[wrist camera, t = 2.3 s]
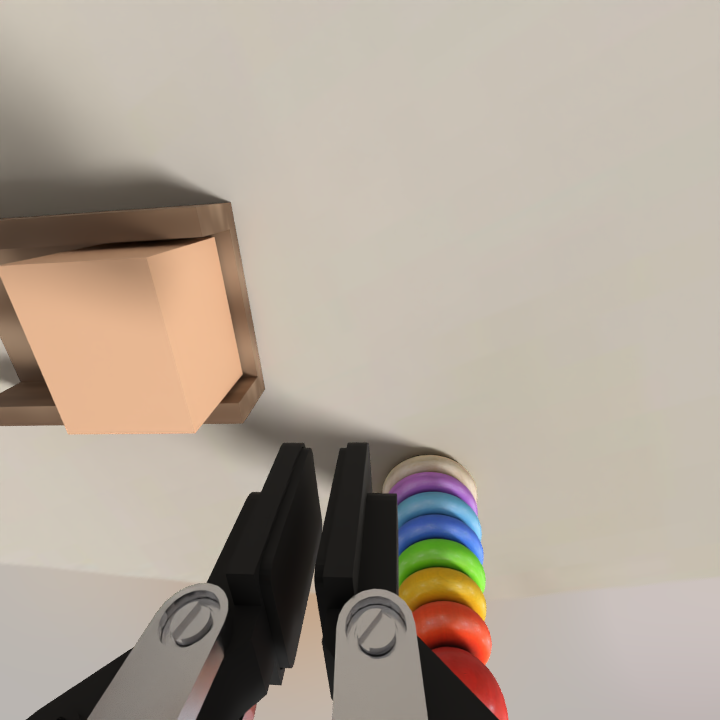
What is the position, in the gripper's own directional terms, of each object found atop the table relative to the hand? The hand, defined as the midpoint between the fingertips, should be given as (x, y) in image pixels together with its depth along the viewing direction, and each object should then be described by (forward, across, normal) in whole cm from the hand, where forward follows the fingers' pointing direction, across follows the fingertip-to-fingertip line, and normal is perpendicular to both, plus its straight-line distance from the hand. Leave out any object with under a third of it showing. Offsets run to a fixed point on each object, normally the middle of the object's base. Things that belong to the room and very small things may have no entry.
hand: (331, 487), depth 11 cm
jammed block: (+18, +14, 0) cm, 23 cm away
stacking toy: (+19, -4, +17) cm, 26 cm away
